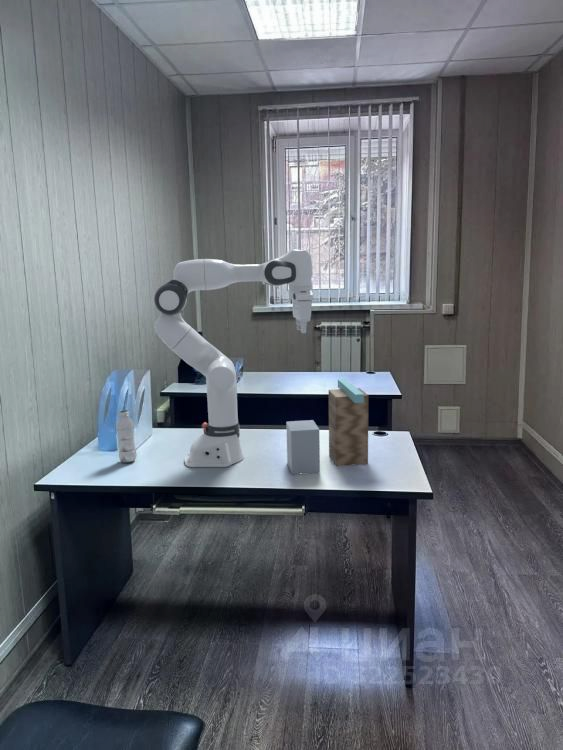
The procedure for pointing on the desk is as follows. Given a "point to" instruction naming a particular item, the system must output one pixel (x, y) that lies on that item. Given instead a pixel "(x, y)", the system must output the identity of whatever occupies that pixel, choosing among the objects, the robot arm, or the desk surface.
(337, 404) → the walnut pedestal
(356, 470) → the desk surface
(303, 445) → the slate base
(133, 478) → the desk surface
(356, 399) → the teal bar
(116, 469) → the desk surface
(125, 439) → the plastic bottle
